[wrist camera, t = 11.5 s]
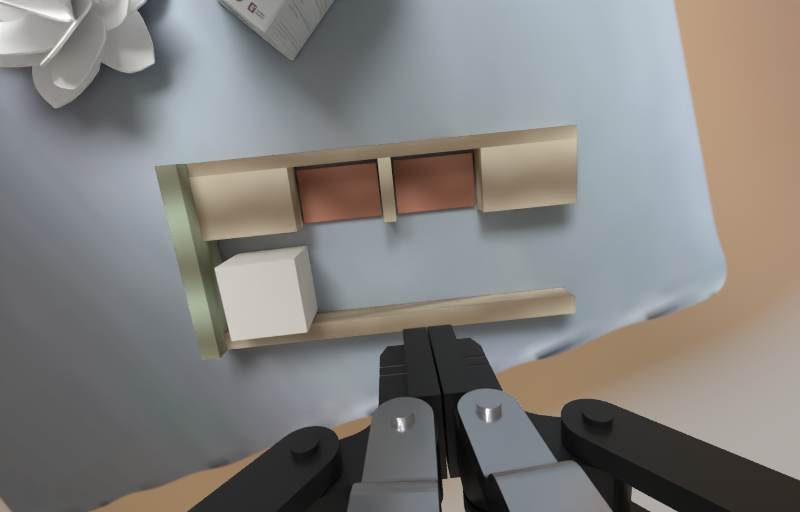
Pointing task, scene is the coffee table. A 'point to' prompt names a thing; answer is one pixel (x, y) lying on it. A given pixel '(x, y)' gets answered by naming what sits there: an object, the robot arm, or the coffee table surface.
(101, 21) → the lotus flower
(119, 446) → the coffee table surface
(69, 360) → the coffee table surface
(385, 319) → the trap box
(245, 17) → the supplement box
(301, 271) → the cream block
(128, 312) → the coffee table surface
